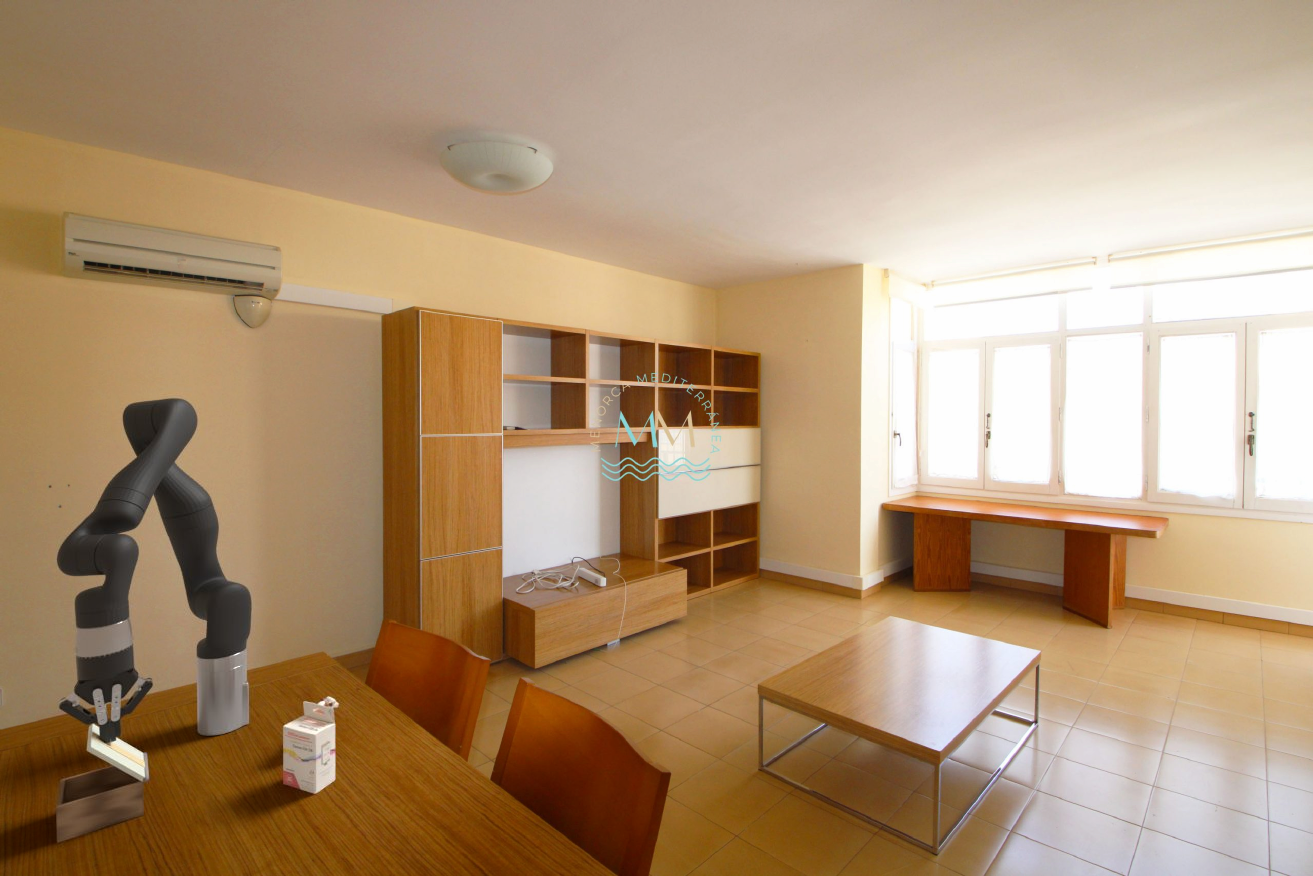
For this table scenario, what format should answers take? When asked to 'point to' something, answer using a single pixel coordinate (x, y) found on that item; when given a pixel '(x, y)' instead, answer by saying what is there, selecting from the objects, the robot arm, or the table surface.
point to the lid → (118, 754)
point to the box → (97, 801)
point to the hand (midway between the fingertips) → (110, 740)
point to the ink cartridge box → (310, 749)
